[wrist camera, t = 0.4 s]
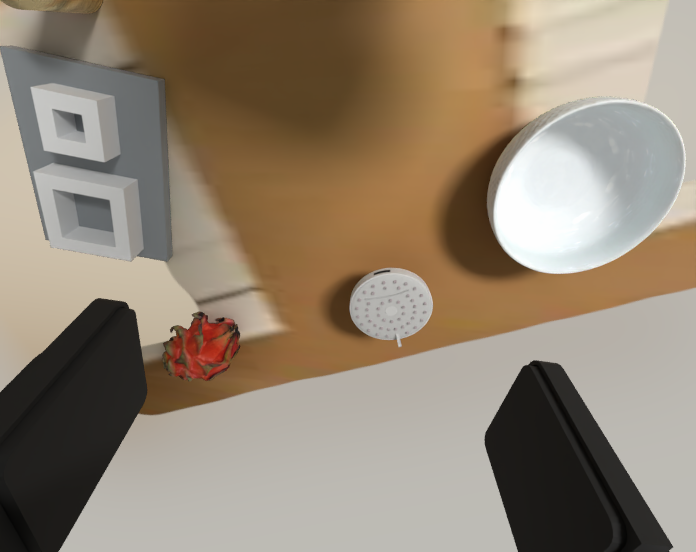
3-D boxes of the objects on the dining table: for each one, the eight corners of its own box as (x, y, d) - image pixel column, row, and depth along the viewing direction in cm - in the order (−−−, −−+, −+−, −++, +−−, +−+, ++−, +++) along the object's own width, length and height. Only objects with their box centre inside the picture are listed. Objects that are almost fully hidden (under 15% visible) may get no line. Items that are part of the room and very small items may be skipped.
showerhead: (361, 355, 47) (339, 288, 42) (361, 318, 53) (341, 255, 48) (440, 341, 45) (427, 270, 40) (430, 304, 51) (418, 238, 46)
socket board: (12, 45, 36) (-29, 47, 33) (164, 79, 38) (143, 84, 34) (54, 234, 47) (27, 252, 43) (172, 255, 48) (156, 274, 44)
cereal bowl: (543, 55, 36) (580, 60, 30) (675, 134, 40) (732, 152, 34) (445, 210, 44) (458, 238, 38) (560, 264, 48) (589, 297, 42)
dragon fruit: (176, 336, 57) (242, 297, 56) (200, 389, 56) (269, 350, 54) (133, 343, 49) (209, 297, 47) (160, 404, 48) (239, 360, 46)
